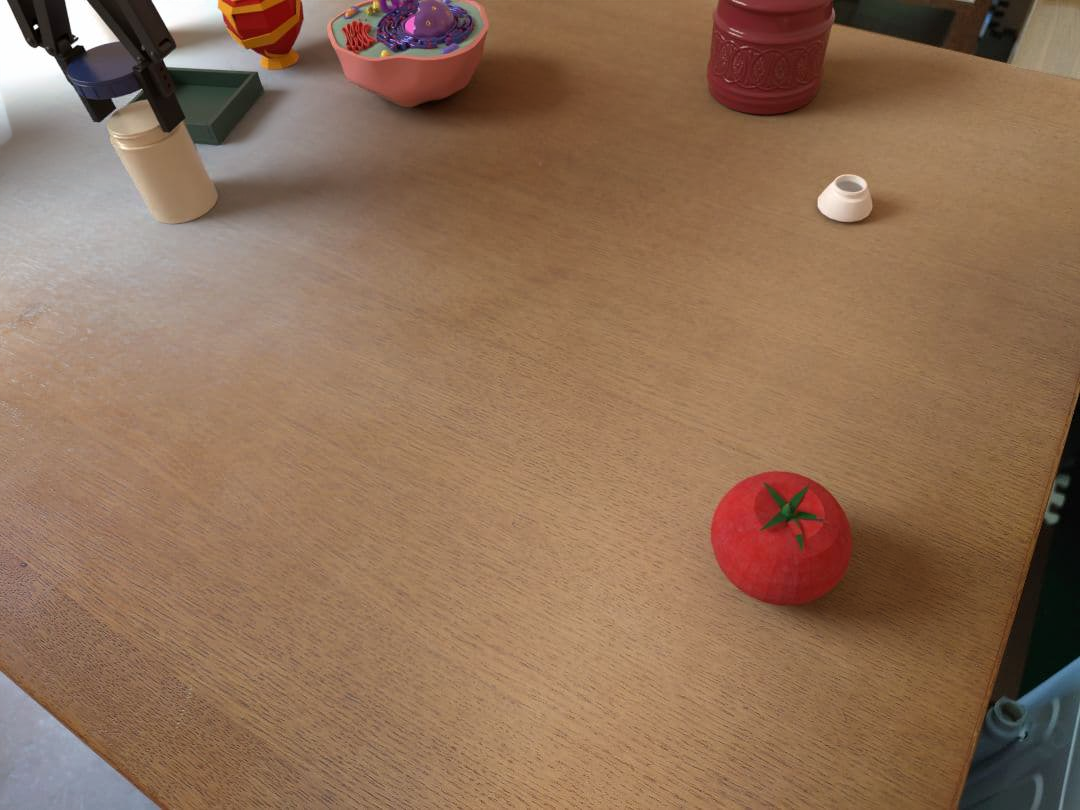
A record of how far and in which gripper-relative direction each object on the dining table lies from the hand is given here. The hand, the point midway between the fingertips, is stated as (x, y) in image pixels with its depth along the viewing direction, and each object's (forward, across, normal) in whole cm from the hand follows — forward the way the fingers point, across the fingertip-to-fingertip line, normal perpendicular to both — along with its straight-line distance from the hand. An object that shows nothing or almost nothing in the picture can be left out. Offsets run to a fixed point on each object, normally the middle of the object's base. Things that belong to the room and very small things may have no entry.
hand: (139, 119), depth 77 cm
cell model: (+10, -17, -27) cm, 33 cm away
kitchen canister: (+10, -57, -35) cm, 68 cm away
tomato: (+9, -67, +26) cm, 72 cm away
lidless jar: (+9, -68, -14) cm, 70 cm away
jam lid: (-6, 0, 0) cm, 6 cm away
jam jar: (+10, 0, 0) cm, 10 cm away
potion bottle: (+10, +5, -31) cm, 33 cm away
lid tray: (+10, +9, -16) cm, 21 cm away
